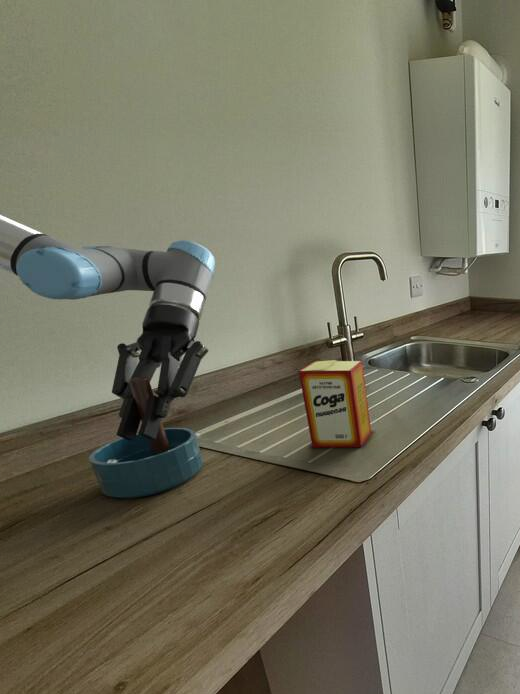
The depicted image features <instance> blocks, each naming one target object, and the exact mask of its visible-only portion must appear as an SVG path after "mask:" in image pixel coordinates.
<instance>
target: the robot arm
mask: <svg viewBox="0 0 520 694" xmlns="http://www.w3.org/2000/svg"><path fill="white" fill-rule="evenodd" d="M215 259H216V258H215V256H214V255H213V253H212V252H211V251H210V250H209V249H208V248H207V247H205V246H203V245H202V244H199V243H197V242H194V241H190V240H183V239H182V240H181V239H180V240H178V241H173V242H171V244H170V245H169V247H167V249H166V251H162V250H145V249H144V250H142V249H135V248H134V249H133V248H125V247H124V248H123V247H115V246H110V245H109V246H108V245H86V246H85V245H84V246H82V247H77V246H73V245H72V244H69V243H67V242H65V241H62V240H59V239H57V238H55V237H53V236H51V235H48V234H46V233H44V232H42V231H40V230H38V229H36V228H33V227H30V226H28V225H26V224H24V223H22V222H19V221H17V220H14V219H13V218H10V217H8V216H6V215H3V214H2V213H0V270H2V271H5V272H7V273H10V274H12V275H14V276H17V277H18V278H19V280H20V282H21V283H22V284H23V285H24V286H26V287H27V288H28V289H29V290H30V291H31V292H32V293H34V294H36V295H37V296H40V297H43V298H46V299H50V300H73V301H74V300H81V299H86V298H89V297H94V296H95V297H96V296H100V295H106V294H114V293H120V292H126V291H138V292H139V291H141V292H142V291H143V292H152V295H151V297H150V300H149V303H148V308H147V310H146V311H145V315H144V318H143V321H142V325H141V326H142V333H141V334H140V336H138V338H137V339H136V341H135V342H133V343H130V344H128V345H126V343H123V342H122V343H119V344H118V345H117V346H116V349H117V352H118V355H119V356H118V360H117V365H116V368H115V375H114V378H113V384H112V389H111V394H113V395H115V396H117V397H118V398H120V399H122V400H123V401H122V403H121V408H120V410H119V412H118V417H119V418H120V419H121V420H120V422H119V426H118V428H117V432H116V434H115V435H116V436H117V437H120V438H124V439H126V440H129V441H133V440H135V437H136V434H137V433H139V434H140V435H142V436H144V437H146V438H148V439H156V436H157V433H158V429H159V426H160V422H161V421H162V419H166V417H167V416H168V414H169V411H170V408H171V405H172V404H171V403H172V401H174V400H175V399H177V398H185V397H186V396H187V395H188V392H189V390H190V388H191V385H192V383H193V380H194V379H195V376H196V374H197V371H198V368H199V366H200V364H201V362H202V360H203V358H204V357H205V356H206V355H207V354H208V353H209V348H208V347H207V346H206V345H205V344H203V343H202V342H201V341H200V340H195V339H196V337H197V333H198V330H199V326H200V320H201V318H202V315H203V311H204V308H205V304H206V300H207V296H208V292H209V289H210V285H211V283H212V280H213V278H214V271H215V266H216V260H215ZM159 368H160V370H159V377H158V382H157V389H156V390H153V394H156V395H154V396H150V398H149V402H148V405H147V408H146V411H145V414H144V418H143V421H141V418H140V415H139V411H138V408H137V405H136V402H135V399H134V396H133V393H132V390H131V387H130V383H129V380H130V379H132V378H136V377H148V378H149V381H150V382H151V381H152V379H153V377H154V374H155V372H156V370H157V369H159Z"/></svg>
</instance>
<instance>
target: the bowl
mask: <svg viewBox="0 0 520 694" xmlns="http://www.w3.org/2000/svg"><path fill="white" fill-rule="evenodd" d="M164 430H165V434H166V437H167V440H168V444H169V447H170V450H169V451H166V452H164V453H161V454H158V455H155V456H153V455H152V452H151V449H150V446H149V443H148V439H147V438H146V437H144V436H142V435H140V434H139V432H137V434H136V437H135V440H133V441H129V440H126V439H124V438H122V437H120V438H118V439H116V440H113V441H109V442H108V443H106V444H103V445H102V446H100V447H98V448H96V449H95V450H94V451H93V452H92V453H91V454H90V455H89V457H88V460H89V462H90V464H91V468H92V470H93V473H94V475H95V478H96V480H97V481H96V482H97V483H98V486H99V489H100V491H101V493H102V494H103V495H105V496H107V497H112V498H119V499H134V498H141V497H142V498H143V497H147V496H151V495H156V494H158V493H159V494H160V493H162V492H165V491H168V490H170V489H173V488H175V487H177V486H179V485H182V484H183V483H186V481H189V480H190V479H191V478H193V476H195V475H196V473H198V472H199V471H200V470H201V469H202V468H203V465H204V460H203V456H202V452H201V449H200V445H199V441H198V438H197V435H196V431H194V430H193V429H190V428H188V427H165V428H164Z"/></svg>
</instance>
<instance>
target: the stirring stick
mask: <svg viewBox="0 0 520 694" xmlns="http://www.w3.org/2000/svg"><path fill="white" fill-rule="evenodd" d="M129 383H130V387H131V390H132V393H133V396H134V399H135V402H136V405H137V408H138V411H139V415H140V418H141V421H140V422H142V421H143V418H144V414H145V411H146V408H147V405H148V402H149V398H150V396H155V393H154V390H153V388H152V385H151V381H149V378H148V377H136V378H132V379H130V380H129ZM147 439H148V438H147ZM148 443H149V446H150V449H151V452H152V455H153V456H155V455H158V454H161V453H164V452H166V451H169V450H170V447H169V444H168V440H167V437H166V434H165V430H164V425H163V420H161V422H160V426H159V429H158V433H157V436H156V439H148Z"/></svg>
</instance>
